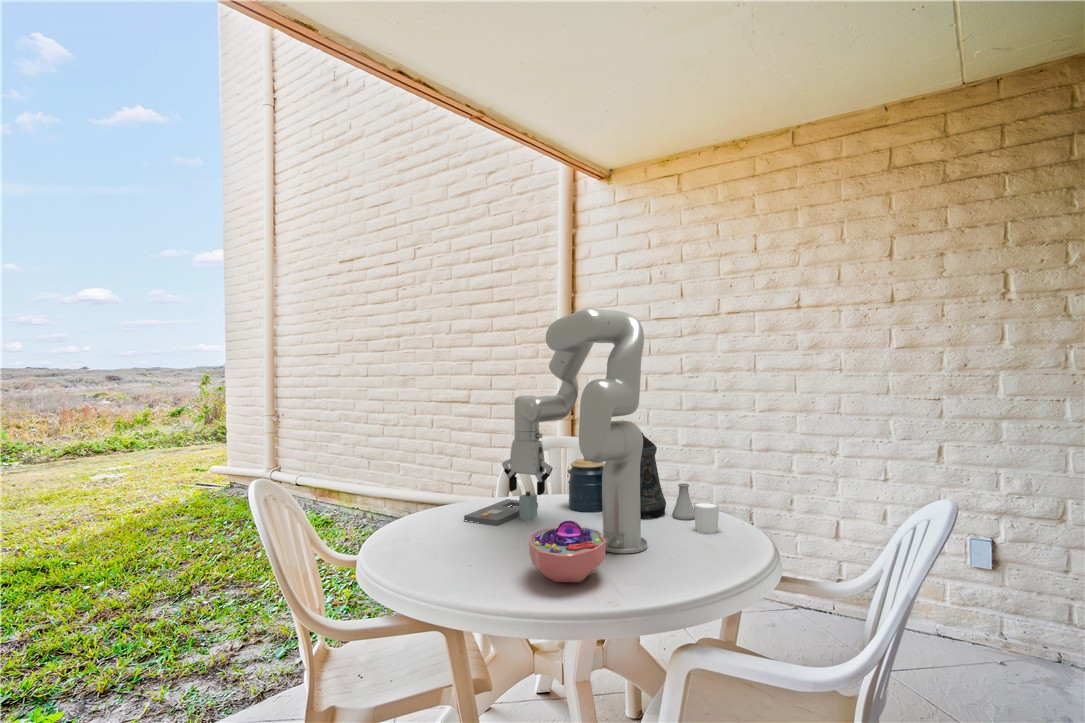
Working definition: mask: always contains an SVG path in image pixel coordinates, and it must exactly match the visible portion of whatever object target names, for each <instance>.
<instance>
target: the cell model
mask: <svg viewBox="0 0 1085 723" xmlns="http://www.w3.org/2000/svg"><path fill="white" fill-rule="evenodd" d="M528 540H529V542H528V543H529V544H528V545H529V546H528V547H529V549H528V550H529V557H530V560H531V564H532V565H533V566H534V567H535V568H536V569H537V570H538V571H539V572H540V573H541V574H543V575H544V576H545V577H547V578H548V579H549V580H551V581H554V582H556V583H580V582H582V581H583V580H585V579H586V578H587V577H589V576H590V575H592V574H593V573H594V572H595V571H596V570H597V569H599V567H600V566H601V565H602V564H603V563H604V561H605V558H606V551H605V549H606V540H605V539H604V538H603V533H602V532H600V531H598V530H595V529H592V528H587V527H581V526H580V524H579V523H578V522H576V521H574V520H565V521H563V522H561V523H559V525H558V526H557V527H554V528H545V529H541V530H538V531H537V532H534V533H533V534H531V535H530V536H529V539H528Z"/></svg>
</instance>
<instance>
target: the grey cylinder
mask: <svg viewBox="0 0 1085 723" xmlns="http://www.w3.org/2000/svg"><path fill="white" fill-rule="evenodd" d="M692 506H693V509H694V516H695V519H694V524H695V530H697V531H696V532H698V533H701V532H702V533H701V534H716V533H717V532H718V527H719V513H720V506H719V504H716V503H713V502H696V503H694V504H692Z"/></svg>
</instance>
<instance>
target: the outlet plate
mask: <svg viewBox="0 0 1085 723" xmlns="http://www.w3.org/2000/svg"><path fill="white" fill-rule="evenodd" d="M510 505H512V506H517V507H508V506H510ZM537 507H538V508H539V503H538V502H537ZM517 516H518V517H520V507H519V500H518V499H509V498H507V499H503V500H501V501H499V502H496V503H493V504H491V505H489V506H486V507H483V508H481V509H478V510H476V511H473V512H470V513H467V514H465V515H464V516H463V521H464V520H467V521H473V522H472V523H474V522H479V523H478V524H481V523H485V524H484V525H488V524H491V525H490V526H495V525H497V526H496V527H498V526H500V524H501V525H503V524H505V523H507V522H509V521H512V520H513V518H514V519H516V518H518V517H517ZM515 517H516V518H515ZM511 519H512V520H511ZM467 521H466V522H467ZM506 521H507V522H506ZM504 522H505V523H504ZM502 523H503V524H502Z"/></svg>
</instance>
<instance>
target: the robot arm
mask: <svg viewBox="0 0 1085 723" xmlns="http://www.w3.org/2000/svg"><path fill="white" fill-rule="evenodd" d="M545 342H546V345H547V347H548V348H549V349H550V350H552V351H554V353H553V355H552V357H551V360H550V361H549V364H548V369H549V370H550V373H551V374H552V375H553V376H555V378H558V380H560V381H562V383H561V385H560V388H559V390H558V391H557V394H556V395H544V396H543V395H542V396H535V395H519V396H516V397H515V399H514V432H513V433H514V439H513V440H512V442H511V443H512V444H511V448H510V449H511V450H510V454H509V455H510V457H509V459H506V460H504V461H503V462H501V466H502V469H503V470H504V471H503V472H504V473H505V474H506V476H507V478H508V487H509V492H513V491H516V490H517V489H518V486H517V485H518V478H517V476H516V475H517V474H521V475H522V474H523V475H529V476H530V475H531V476H535V477H536V479H537V480H538V481H537V482H536V494H537V496H541V495H543V494H544V493H545V490H546V489H545V488H546V485H545V484H546V480H547V479H548V478H549V477H550V475H551V473H552V472H553V469H554V468H553V466H551V465H550V464H548V463H547V462H545V453H544V452H545V451H544V446H543V442H542V440H540V439H542V438H543V433H540V423H546V422H547V423H548V422H555V421H556V422H557V421H561V420H564V419H565V418H567V416H568V415H569V414H570V413H571V411H572V410H573V408H574V406H575V404H576V402H577V399H578V396H579V384H578V379H577V377H578V374H579V372H580V370H581V368H582V367H583V365H584V363H585V361H586V359H587V357H588V355H589V353H590V351H591V349H592V347H593V345H594V344H613V345H614V346H613V348H612V349H611V351H610V352H609V356H608V357H607V358H608V359H607V363H606V375H605V376H606V377H605V378H597V379H596V378H595V379H593V380H591V381H590V382H588V383H587V384H586V385H585V387H584V388H583V390H582V393H581V396H580V404H579V420H578V421H579V422H578V423H579V424H578V446H579V450H580V452H581V455H582V457H583V458H584V457H585V458H586V459H587V460H588V461H590V462H595V463H598V462H603V463H605V465H604V468H603V473H602V503H603V510H602V537H603V538H604V539H605V540H606V549H605V552H607V553H608V552H609V553H613V554H634V553H636V554H637V553H640V552H643V551H645V550H646V549H647V548H648V541H647V539H645V538H643V537H642V532H641V531H642V526H641V523H642V522H641V520H642V519H641V514H640V461H641V454H642V449H643V436H642V433H643V432H642V430H641V429H640V427H639V426H638V425H637V424H636V423H634V422H632V421H629V420H613V421H612V418H614V417H615V418H616V417H624V416H629V415H631V414H634V413H635V412H636V411H637V409H638V408H639V405H640V404H639V403H640V393H641V377H642V374H641V373H642V358H643V352H644V351H643V350H644V343H645V334H644V328H643V326H642V324H641V323H640V321H639V319H637V317H635V316H633V315H632V314H631V313H630V314H629V313H627V312H624V311H619V310H611V309H598V308H597V309H596V308H586V309H585V308H584V309H581V310H578V311H576V312H573V313H571V314H568V315H566V316H563V317H560V318H558V319H556V320H554V321H553V322H552V323H550V325H549V326H548V327H547V331H546V333H545ZM641 432H642V433H641Z"/></svg>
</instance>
